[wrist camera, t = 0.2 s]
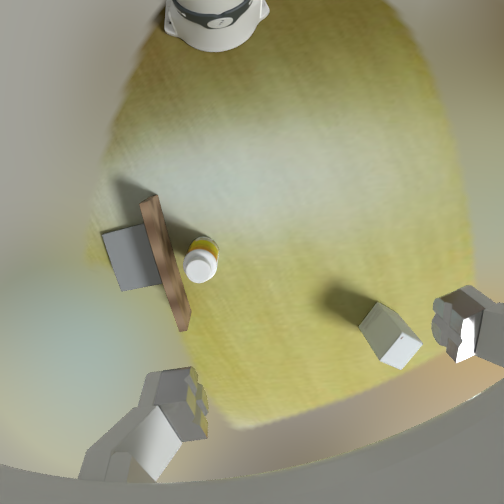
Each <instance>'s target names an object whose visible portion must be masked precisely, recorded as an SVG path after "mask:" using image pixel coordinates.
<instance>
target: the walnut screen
mask: <svg viewBox="0 0 504 504" xmlns="http://www.w3.org/2000/svg"><path fill="white" fill-rule="evenodd" d="M139 205H140V209H141V213H142V216H143V220H144V224H145V227H146V231H147V234H148V238H149V241H150V244H151V248H152V251H153V254H154V258H155V261H156V264H157V267H158V270H159V273H160V277H161V280H162V283H163V286H164V289H165V292H166V295H167V298H168V301H169V304H170V306H171V309H172V312H173V315H174V318H175V321H176V323H177V326H178V329H179V332H182V331H187V330H188V325H189V321H190V316H191V308H190V305H189V302H188V299H187V296H186V293H185V290H184V286H183V283H182V280H181V277H180V273H179V270H178V267H177V263H176V260H175V256H174V253H173V249H172V246H171V242H170V239H169V235H168V232H167V228H166V224H165V221H164V217H163V213H162V209H161V205H160V201H159V198H158V195H155V196H151V197H149V198H147V199H146V200H144V201H143V202H141V203H140V204H139Z"/></svg>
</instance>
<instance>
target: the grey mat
mask: <svg viewBox="0 0 504 504" xmlns="http://www.w3.org/2000/svg"><path fill="white" fill-rule="evenodd" d="M102 236H103V240H104V243H105V246H106V249H107V252H108V255H109V258H110V261H111V264H112V267H113V270H114V272H115V275H116V278H117V281H118V284H119V286H120V289H121V291H127V290H132V289H137V288H142V287H147V286H152V285H158V284H162V280H161V277H160V273H159V270H158V267H157V264H156V261H155V258H154V254H153V251H152V248H151V244H150V241H149V238H148V234H147V231H146V227H145V224H144V223H143V224H139V225H135V226H132V227H128V228H124V229H120V230H116V231H112V232H109V233H105V234H103V235H102Z"/></svg>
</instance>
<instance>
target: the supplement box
mask: <svg viewBox="0 0 504 504" xmlns="http://www.w3.org/2000/svg"><path fill="white" fill-rule="evenodd" d="M359 329H360V330H361V332H362V334H363V335H364V337H365V338H366V340H367V341H368V343H369V345H370V346H371V348H372V349H373V351H374V353H375V354H376V356H377V357H378V359H379V361H381V362H383V363H386V364H388V365H390V366H393V367H395V368H398V369H400V370H401V369H402V368H403V367H404V366H405V365H406V364H407V363H408V361H409V360H410V359H411V358H412V357H413V355H414V354H415V353H416V352H417V351H418V349H419V348H420V347H421V346H422V345H423V343H422V342H421V340H420V339H419V338H418V337H417V335H416V334H415V333H414V332H413V331H412V330H411V328H410V327H409V326H408V325H407V324H406V323H405V322H404V320H403V319H402V318H401V317H400V316H399V315H398V313H396V312H395V311H393V310H391V309H389V308H388V307H386V306H384V305H383V304H381V303H379V302H377V303H376V304H375V305H374V307H373V308H372V309H371V311H370V312H369V313H368V315H367V316H366V317H365V319H364V320H363V321H362V322H361V324H360V325H359Z"/></svg>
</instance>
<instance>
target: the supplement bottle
mask: <svg viewBox="0 0 504 504" xmlns="http://www.w3.org/2000/svg"><path fill="white" fill-rule="evenodd" d="M218 256H219V249H218V246H217V244H216V242H215V241H214V240H212V239H211V238H208V237H199V238H196V239H195V240H194V241H193V242H192V243H191V244H190V246H189V249H188V251H187V254H186V256H185V258H184V262H183V268H184V271H185V273H186V275H187V277H188V278H189V279H190V280H191V281H193V282H195V283H203V282H205V281H207V280H209V279H210V278H212V277H213V276H214V274H215V272H216V270H217V264H218Z"/></svg>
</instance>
